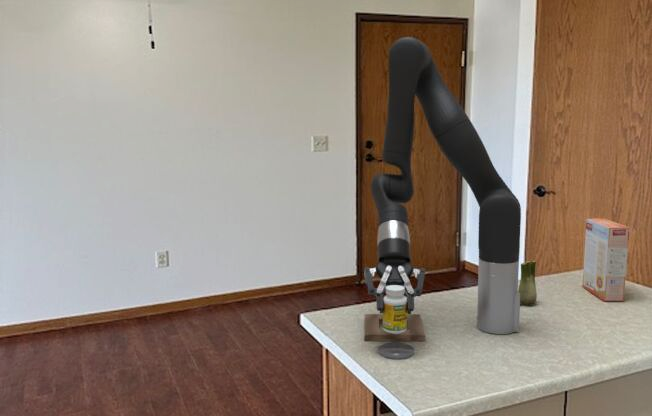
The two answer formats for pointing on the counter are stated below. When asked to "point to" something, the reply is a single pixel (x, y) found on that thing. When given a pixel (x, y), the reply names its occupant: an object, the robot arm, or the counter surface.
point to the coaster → (396, 350)
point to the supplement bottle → (395, 310)
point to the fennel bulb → (527, 283)
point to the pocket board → (376, 334)
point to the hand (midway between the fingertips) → (395, 311)
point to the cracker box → (605, 259)
